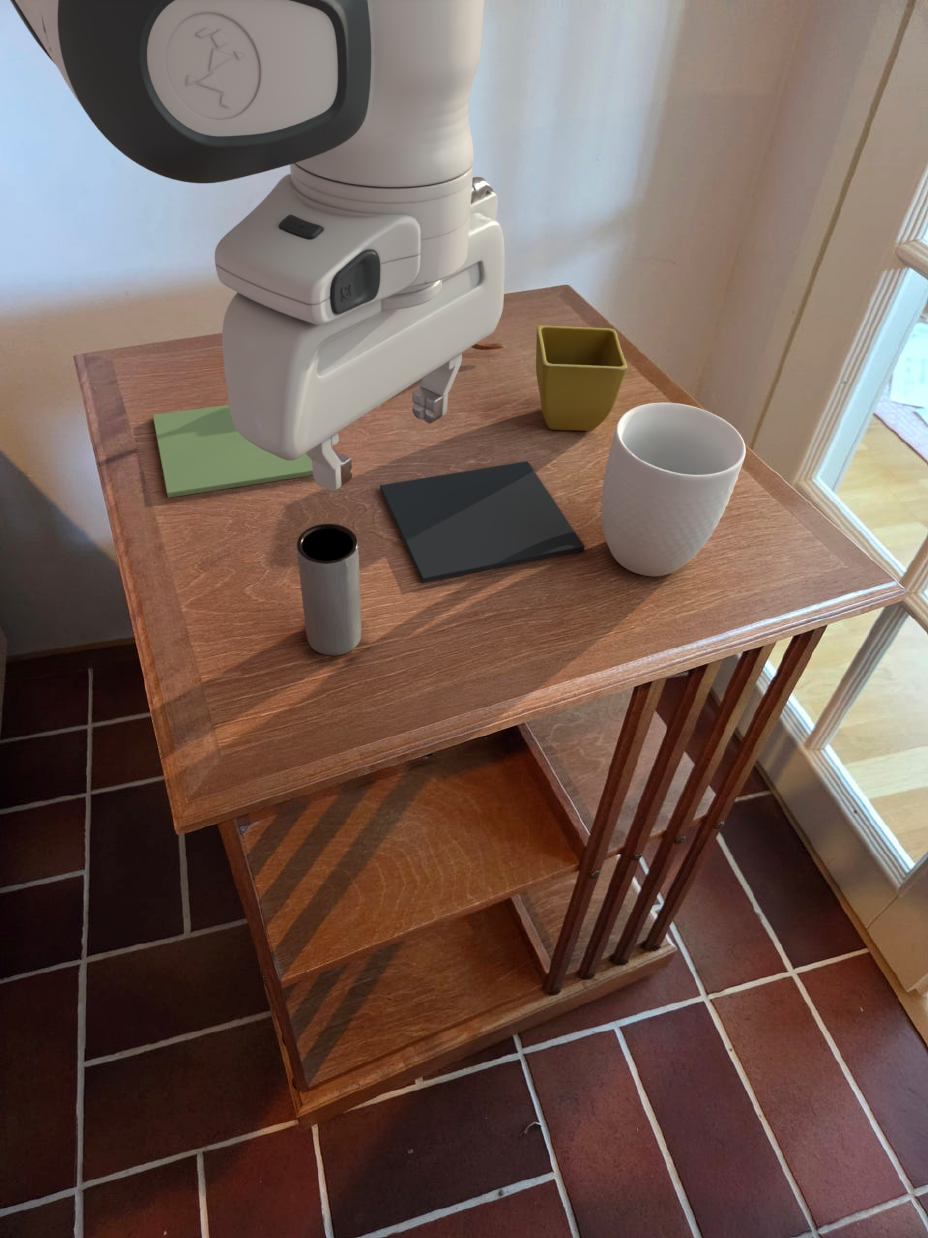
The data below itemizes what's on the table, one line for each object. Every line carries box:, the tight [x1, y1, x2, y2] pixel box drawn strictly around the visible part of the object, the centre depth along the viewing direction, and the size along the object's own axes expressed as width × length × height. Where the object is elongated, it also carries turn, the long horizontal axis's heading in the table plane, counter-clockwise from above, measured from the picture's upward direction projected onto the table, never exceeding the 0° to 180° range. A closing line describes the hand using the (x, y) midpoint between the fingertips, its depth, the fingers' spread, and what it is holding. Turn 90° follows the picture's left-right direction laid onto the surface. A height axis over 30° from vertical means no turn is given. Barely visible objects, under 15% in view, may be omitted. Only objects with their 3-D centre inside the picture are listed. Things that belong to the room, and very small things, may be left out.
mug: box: [600, 402, 747, 577], centre depth 75 cm, size 15×11×13 cm
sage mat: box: [152, 404, 313, 499], centre depth 86 cm, size 16×14×1 cm
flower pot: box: [535, 325, 628, 432], centre depth 91 cm, size 9×9×9 cm
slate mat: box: [379, 460, 586, 584], centre depth 81 cm, size 16×14×1 cm
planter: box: [296, 523, 362, 656], centre depth 65 cm, size 4×4×10 cm
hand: (383, 447), depth 52 cm, fingers open, 8 cm apart
